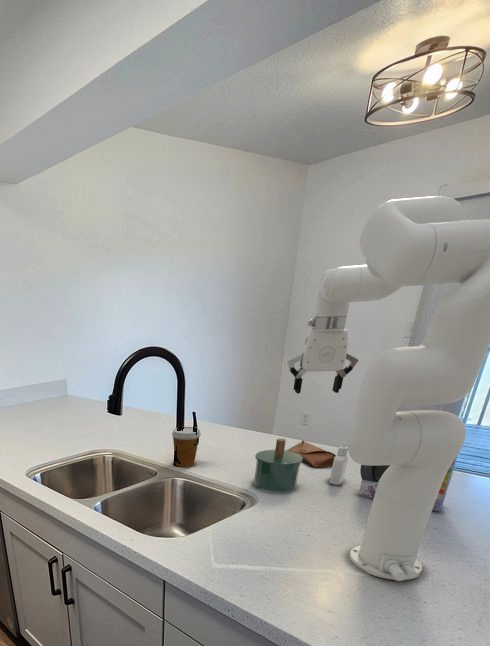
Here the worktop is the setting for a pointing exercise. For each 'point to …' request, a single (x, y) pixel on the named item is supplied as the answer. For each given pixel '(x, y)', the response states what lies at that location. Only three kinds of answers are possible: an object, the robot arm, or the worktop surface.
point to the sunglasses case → (313, 455)
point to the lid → (279, 455)
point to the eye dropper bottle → (339, 465)
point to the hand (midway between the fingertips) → (316, 392)
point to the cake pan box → (374, 473)
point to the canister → (275, 477)
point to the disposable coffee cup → (185, 445)
